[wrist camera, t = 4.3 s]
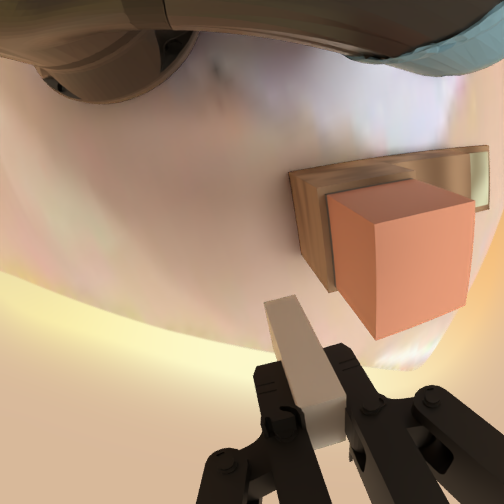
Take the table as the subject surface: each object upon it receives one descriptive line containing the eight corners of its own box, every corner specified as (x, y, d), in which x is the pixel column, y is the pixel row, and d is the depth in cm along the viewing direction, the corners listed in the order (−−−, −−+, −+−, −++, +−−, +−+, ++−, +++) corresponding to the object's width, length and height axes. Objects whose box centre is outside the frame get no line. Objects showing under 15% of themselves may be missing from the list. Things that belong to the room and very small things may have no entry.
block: (334, 285, 23) (375, 340, 17) (324, 193, 21) (374, 224, 14) (412, 263, 24) (465, 305, 17) (410, 177, 21) (475, 200, 15)
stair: (301, 254, 31) (328, 293, 24) (288, 172, 28) (316, 187, 20) (487, 208, 32) (530, 227, 25) (486, 145, 29) (534, 155, 22)
